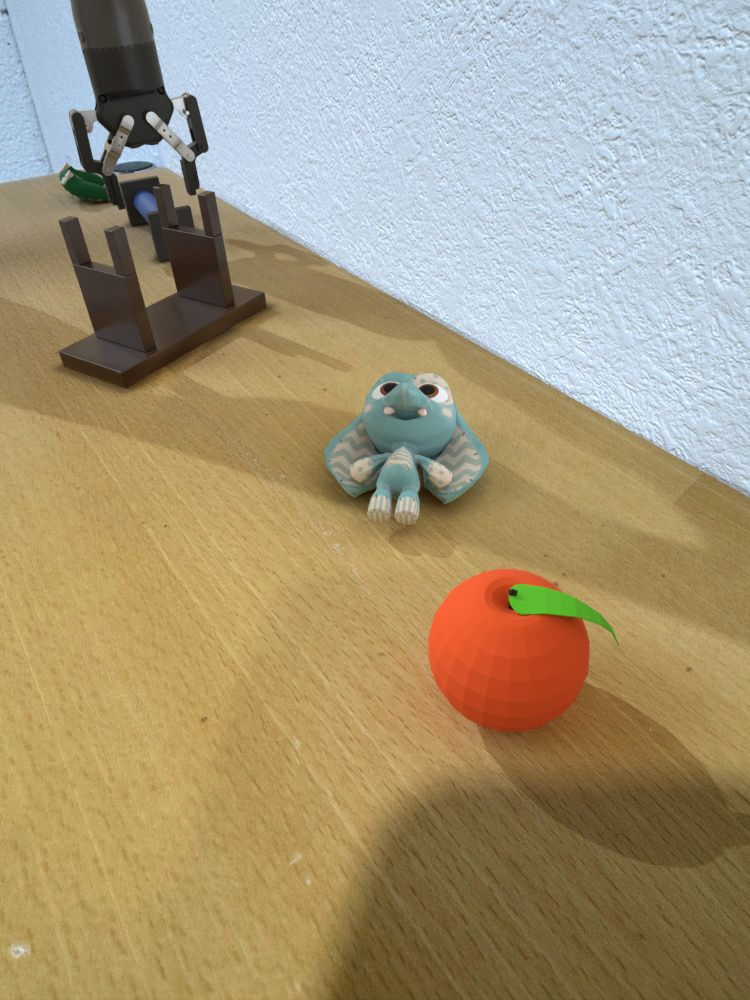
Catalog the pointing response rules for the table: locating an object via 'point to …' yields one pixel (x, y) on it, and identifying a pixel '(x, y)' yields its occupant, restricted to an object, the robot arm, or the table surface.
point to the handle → (150, 211)
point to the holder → (167, 323)
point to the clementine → (511, 649)
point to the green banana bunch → (82, 184)
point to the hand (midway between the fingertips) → (157, 201)
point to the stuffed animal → (406, 447)
